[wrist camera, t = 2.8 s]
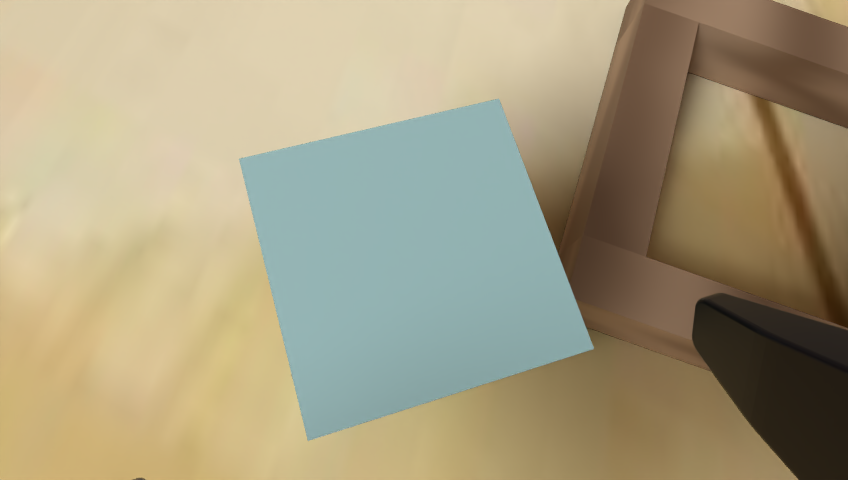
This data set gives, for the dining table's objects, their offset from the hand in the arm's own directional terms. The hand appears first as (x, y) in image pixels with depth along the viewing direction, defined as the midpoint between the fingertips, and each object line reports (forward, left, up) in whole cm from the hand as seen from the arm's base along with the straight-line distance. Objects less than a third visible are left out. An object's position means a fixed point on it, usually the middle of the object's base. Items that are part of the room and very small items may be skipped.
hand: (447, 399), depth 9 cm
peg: (+1, -2, -9) cm, 10 cm away
